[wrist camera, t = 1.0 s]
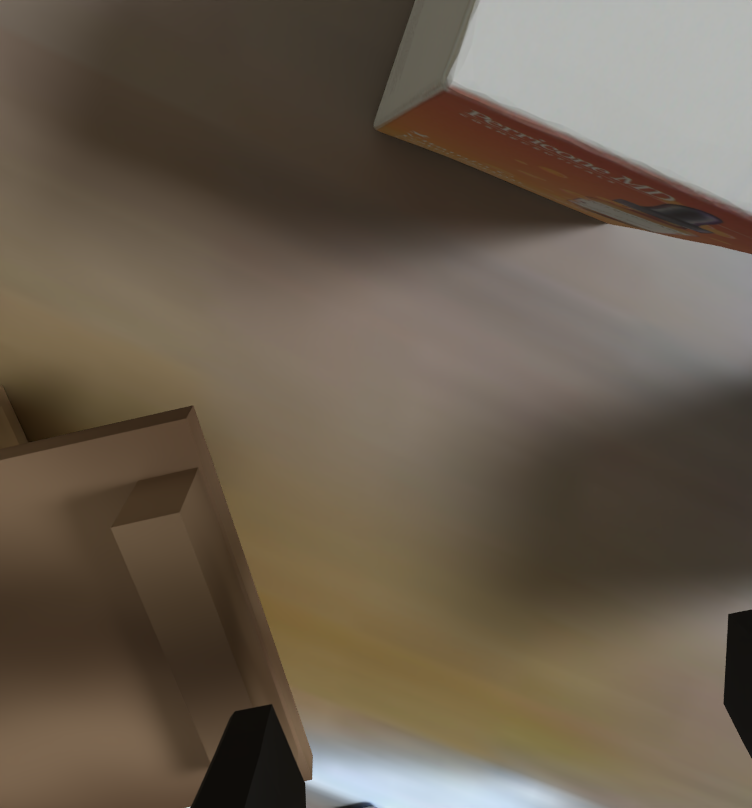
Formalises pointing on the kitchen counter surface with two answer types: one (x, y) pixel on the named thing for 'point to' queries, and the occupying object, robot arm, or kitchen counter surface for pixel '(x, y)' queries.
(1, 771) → the lid
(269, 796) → the robot arm
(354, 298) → the kitchen counter surface
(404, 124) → the small box
